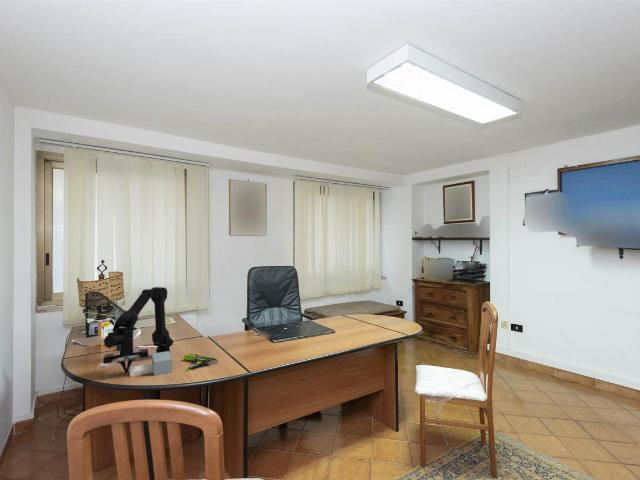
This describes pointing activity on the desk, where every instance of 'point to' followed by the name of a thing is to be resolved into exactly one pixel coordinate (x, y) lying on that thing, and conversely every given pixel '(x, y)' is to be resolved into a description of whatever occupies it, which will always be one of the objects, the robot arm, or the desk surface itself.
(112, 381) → the desk surface
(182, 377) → the desk surface
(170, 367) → the overhang
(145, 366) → the tile
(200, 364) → the toy gun
